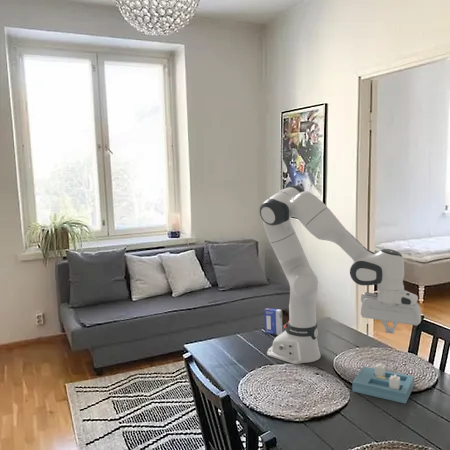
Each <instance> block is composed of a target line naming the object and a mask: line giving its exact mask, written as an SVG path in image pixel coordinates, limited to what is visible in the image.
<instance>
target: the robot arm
mask: <svg viewBox="0 0 450 450" xmlns="http://www.w3.org/2000/svg"><path fill="white" fill-rule="evenodd" d="M259 215H260V218H261V219H262V223H263V228H264V231H265V234H266V236H267V239H268V241H269V244H270V245H271V248H272V249H273V251H274V255H275V256H276V258H277V260H278V262H279V264H280V267H281V269H282V271H283V274H284V275H285V277H286V279H287V281H288V283H289V302H288V303H289V304H288V311H289V312H288V317H289V318H288V319H289V320H288V322H286V323H285V324H284V325H283V329H285V330H284V331H282V333H281V334H279V335H277V336H276V337H275V338H274V339H273V341H272V345H271V346H270V347H268V349H267V352H266V354H267V356H268V357H271V358H275V359H277V360H280V361H284V362H287V363H288V364H289V363H290V364H292V365H299V364H300V365H301V364H304V363H305V364H308V363H312V362H317V361H318V360H319V359H320V358H321V355H322V354H321V352H320V348H319V344H318V333H319V331H318V330H319V328H318V323H317V300H318V287H319V286H318V285H319V281H318V277H317V274H316V273H315V271H314V270H313V269H312V267H311V265H310V263H309V261H308V259H307V255H306V253H305V251H304V249H303V246H302V244H301V242H300V240H299V237H298V236H297V234H296V231H295V229H294V227H293V225H292V222H291V218H294V219H297V220H298V221H299V222H300V223H301V224H302V225H303V227H304V228H305V229H306V230H307V231H308V232H309V233H310V234H311V235H313V236H314V237H315V238H316V239H317V240H321V241H329V242H331V243H335V244H336V245H338V246H339V247H340V248H341V250H343V251H344V252H345V253H346V254H347V256H349V257H350V258H351V259H352V260H353V263H352V264H351V266H350V269H349V274H350V278H351V280H352V281H353V282H354V283H355V284H357V285H359V286H376V285H377V291H376V292H377V293H376V292H367V291H366V292H364V293H362V294H361V295H360V301H361V308H360V316H361V317H362V318H365V319H371V320H376V321H378V320H379V321H381V324H382V326H383V328H384V332H385V333H386V334H395V328H396V327H397V326H398V324H402V325H403V324H404V325H411V326H416V327H417V326H418V325H419V324H421V321H422V311H421V307H420V304H419V303H418V300H419V296H418V295H417V294H415V293H412V292H410V291H408V290H405V285H404V278H405V260H404V257H403V255H402V253H400V252H398V251H397V250H394V249H389V248H387V249H386V248H384V249H380V250H379V251H378V252H374V251H372V250H369V249H368V248H366V247H365V246H364V245H363V244H362V243H361V242H360V241H359V240H358V239H356V237H354V235H353V234H352V233H351V232H350V231H349V230H347V228H345V226H344V225H343V224H342V222H341V221H340V220H339V219H338V218H337V217H336V215H335V214H334V213H333V212H332V211H331V209H330V208H329V207H328V206H327V205H326V204H325V203H324V202H323V201H322V200H321V199H320V198H319V197H317V196H316V195H314V193H312V192H311V191H307V190H304V189H303V187H301V186H300V185H297V184H296V185H295V184H294V185H293V184H292V185H289V186H286V187H285V188H283V189H279V190H278V191H277V192H276V193H274V194H273V195H271V196H270V197H269V198H268V199H265V200H264V201H263V203H261V204H260V206H259ZM388 322H390V323H392V325H393V327H392V326H388Z"/></svg>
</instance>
